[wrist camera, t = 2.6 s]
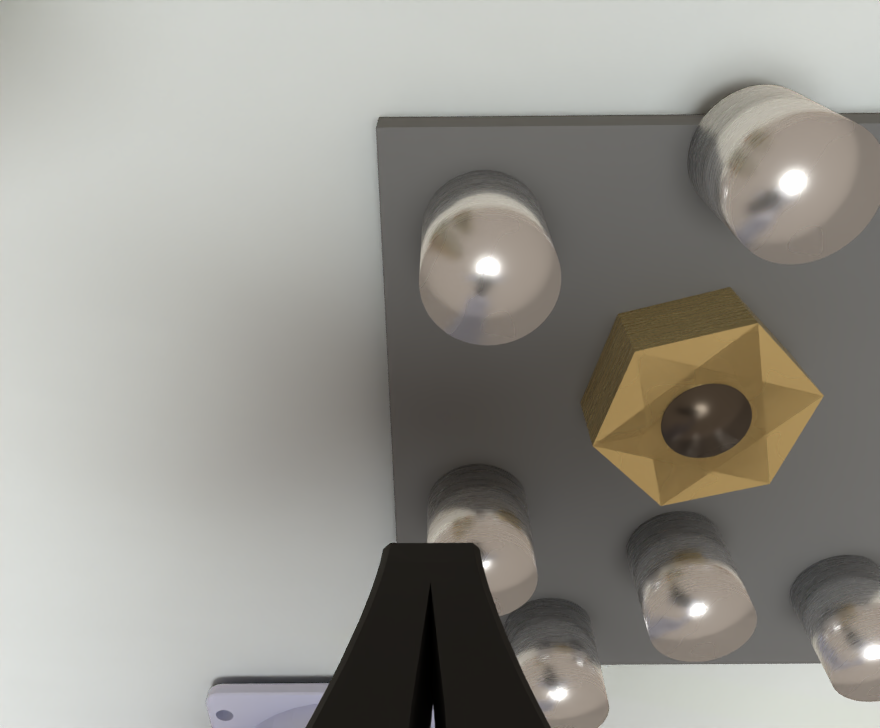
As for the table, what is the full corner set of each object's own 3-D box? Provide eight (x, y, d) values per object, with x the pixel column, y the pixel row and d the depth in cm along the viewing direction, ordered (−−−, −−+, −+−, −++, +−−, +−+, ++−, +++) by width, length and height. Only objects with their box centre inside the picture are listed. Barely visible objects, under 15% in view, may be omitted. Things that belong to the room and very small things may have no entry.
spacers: (854, 655, 21) (900, 739, 19) (430, 658, 22) (430, 741, 19) (1085, 81, 14) (1206, 113, 11) (418, 87, 14) (414, 119, 12)
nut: (795, 428, 17) (826, 473, 16) (595, 470, 18) (608, 518, 17) (787, 272, 16) (822, 308, 14) (563, 326, 16) (575, 366, 15)
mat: (848, 639, 22) (862, 663, 22) (404, 642, 22) (403, 665, 22) (1055, 111, 15) (1086, 121, 14) (379, 117, 15) (376, 127, 14)
